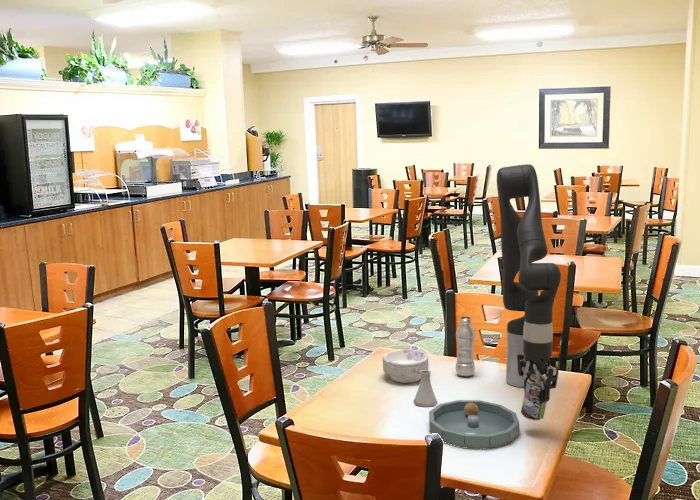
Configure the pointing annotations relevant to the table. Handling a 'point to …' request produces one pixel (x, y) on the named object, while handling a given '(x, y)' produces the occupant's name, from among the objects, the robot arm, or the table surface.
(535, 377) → the beverage can
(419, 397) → the flask
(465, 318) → the plastic bottle
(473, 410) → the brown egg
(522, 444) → the table surface
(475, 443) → the tray
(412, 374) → the paper bowls
